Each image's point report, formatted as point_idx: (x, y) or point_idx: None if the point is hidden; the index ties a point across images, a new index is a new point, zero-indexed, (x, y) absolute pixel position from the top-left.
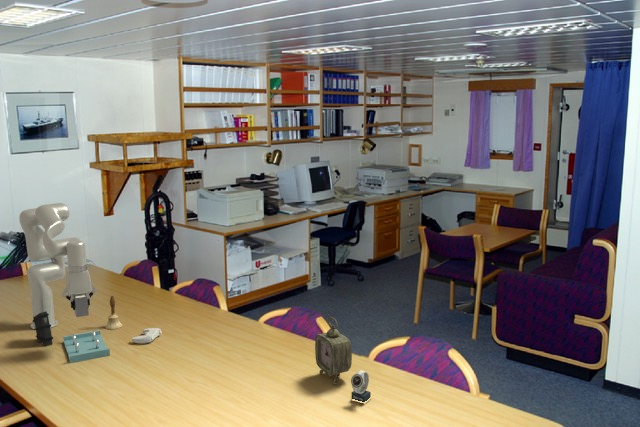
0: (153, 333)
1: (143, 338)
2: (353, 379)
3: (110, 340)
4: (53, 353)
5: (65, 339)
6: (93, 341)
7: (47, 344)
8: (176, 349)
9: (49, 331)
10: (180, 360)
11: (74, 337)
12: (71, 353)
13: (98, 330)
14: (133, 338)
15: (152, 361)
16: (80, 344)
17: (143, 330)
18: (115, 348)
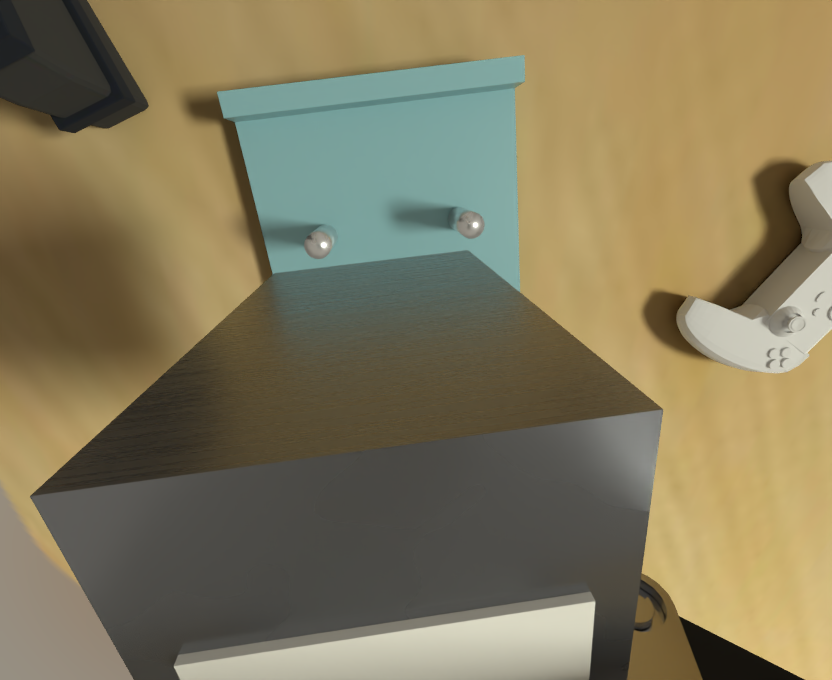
0: (827, 330)
1: (743, 368)
2: None
3: (560, 205)
4: (202, 298)
5: (244, 120)
6: (453, 230)
7: (110, 123)
8: (812, 468)
9: (55, 81)
10: (766, 569)
11: (323, 256)
12: None
13: (513, 62)
14: (694, 329)
15: (671, 550)
16: (366, 254)
17: (808, 187)
18: None
